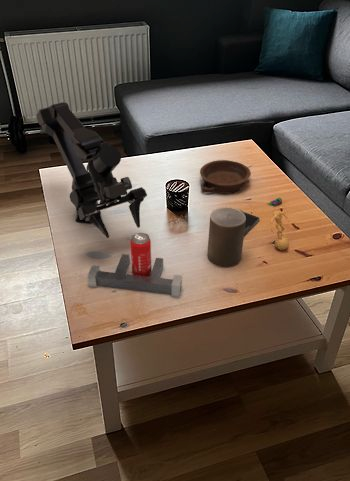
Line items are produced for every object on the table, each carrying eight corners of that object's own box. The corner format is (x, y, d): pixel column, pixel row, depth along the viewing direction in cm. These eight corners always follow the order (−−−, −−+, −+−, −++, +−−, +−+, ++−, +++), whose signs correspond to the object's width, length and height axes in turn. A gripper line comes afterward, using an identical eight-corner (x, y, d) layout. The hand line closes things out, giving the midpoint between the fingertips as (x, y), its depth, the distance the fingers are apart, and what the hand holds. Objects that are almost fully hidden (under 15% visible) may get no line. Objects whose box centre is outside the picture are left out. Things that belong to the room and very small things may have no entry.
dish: (262, 180, 171) (264, 168, 168) (225, 205, 158) (226, 192, 155) (223, 164, 181) (224, 152, 178) (185, 187, 167) (185, 174, 164)
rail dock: (89, 286, 126) (87, 275, 124) (101, 259, 135) (100, 248, 133) (179, 297, 123) (179, 286, 121) (185, 269, 132) (186, 258, 130)
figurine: (278, 257, 136) (284, 223, 129) (260, 248, 139) (265, 214, 132) (294, 245, 141) (301, 211, 134) (277, 236, 144) (282, 202, 137)
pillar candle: (231, 271, 131) (237, 227, 122) (200, 259, 135) (203, 215, 126) (247, 253, 138) (253, 209, 129) (217, 242, 142) (220, 199, 133)
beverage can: (143, 282, 128) (141, 246, 120) (128, 274, 130) (126, 239, 123) (155, 272, 131) (154, 237, 124) (140, 264, 133) (139, 229, 126)
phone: (214, 232, 144) (239, 210, 154) (214, 235, 145) (238, 212, 155) (237, 241, 141) (261, 218, 151) (237, 244, 142) (260, 221, 151)
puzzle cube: (276, 201, 161) (277, 195, 159) (281, 205, 159) (282, 199, 157) (266, 204, 159) (267, 198, 158) (271, 208, 157) (272, 202, 156)
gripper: (76, 178, 119) (99, 237, 119) (142, 160, 127) (164, 215, 126) (68, 191, 130) (89, 245, 129) (130, 174, 137) (150, 224, 137)
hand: (123, 232), depth 130 cm, fingers open, 9 cm apart
